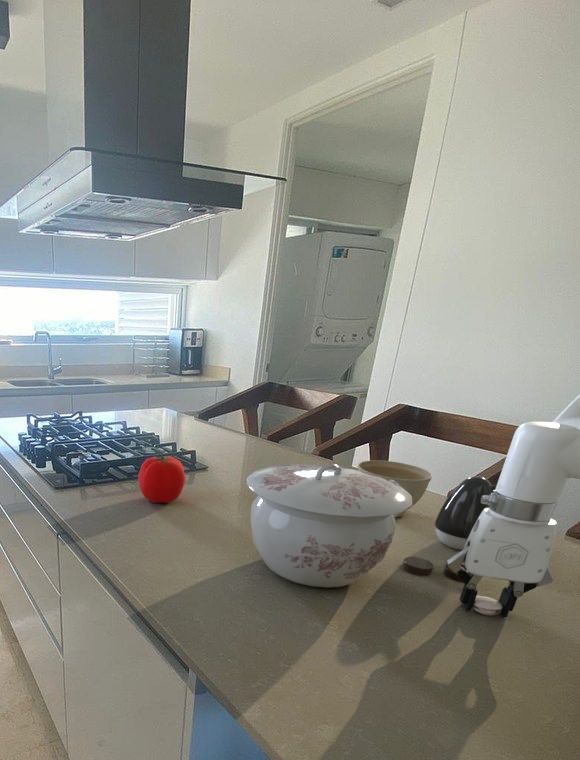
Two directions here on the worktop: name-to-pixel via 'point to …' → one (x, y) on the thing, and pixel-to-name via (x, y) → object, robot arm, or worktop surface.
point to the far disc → (417, 566)
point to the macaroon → (487, 605)
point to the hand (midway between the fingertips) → (483, 608)
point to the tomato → (161, 479)
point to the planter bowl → (400, 476)
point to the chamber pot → (323, 521)
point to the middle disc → (452, 573)
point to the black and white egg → (462, 511)
